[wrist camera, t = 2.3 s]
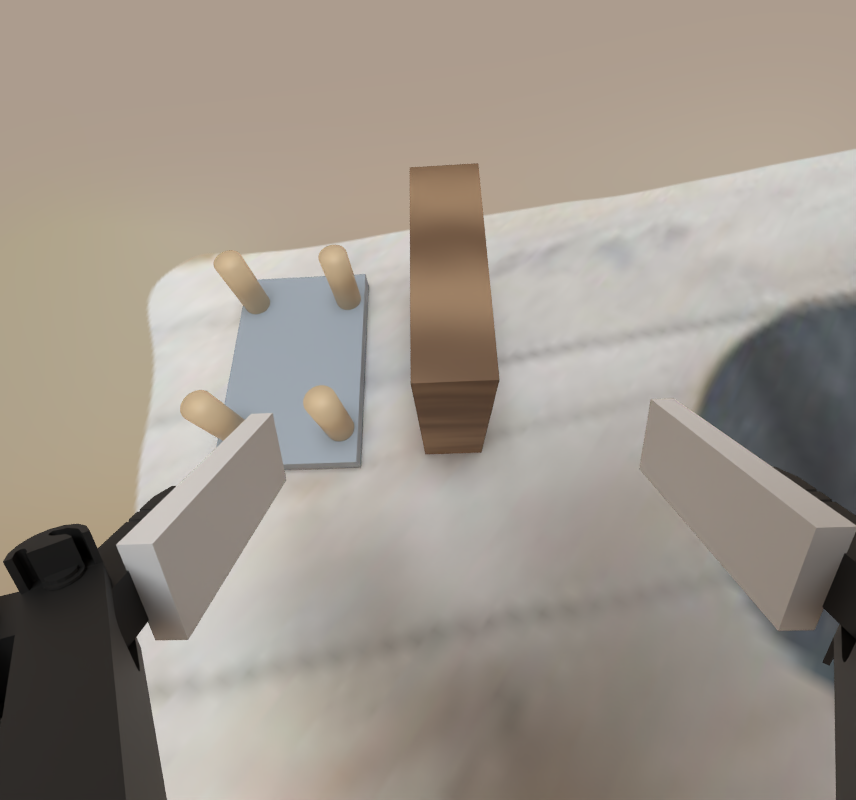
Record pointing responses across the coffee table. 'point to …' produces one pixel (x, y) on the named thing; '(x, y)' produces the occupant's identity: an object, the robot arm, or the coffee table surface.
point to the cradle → (295, 362)
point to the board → (450, 310)
